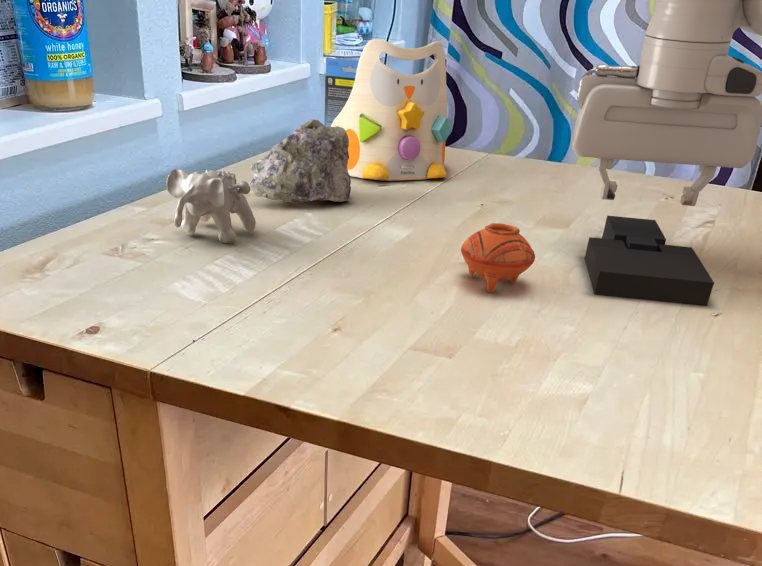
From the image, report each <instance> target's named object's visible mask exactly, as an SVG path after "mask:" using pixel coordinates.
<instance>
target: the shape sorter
mask: <svg viewBox="0 0 762 566" xmlns="http://www.w3.org/2000/svg"><path fill="white" fill-rule="evenodd" d="M382 54H387V55H388V56H390V57H393V58H395V59H399V60H403V61H419V60H422V59H426V58H428V57H431V56H432V55H433V56H434V61H433V64H432V65H430V66H429V67H428V68H427V69H425V70H424V71H422V72H419V73H415V74H405V73H401V72H398V71H396V70H394V69H392V68H391V67H389V66H387V65H386V64H385V63H383V62H382V61H381V59H380V57H381V55H382ZM358 61H359V63H358V67H357V69H356V71H355V73H356V77H355V82H354V85H353V89H352V91H351V94H350V96H349V99H348V101H347V103H346V104H345V106H344V108H343V109H342V111H341V112H340V113H339V115H338V116H337V117H336V118H335V120H334V121H333V123H332V125H331V127H336V126H339V127H342V128H344V129H345V131H346V133H347V135H348V138H349V146H348V152H349V159H348V166H347V169H348V174H349V175H350V177H353V178H358V179H365V180H372V181H374V180H375V181H387V182H388V181H389V182H390V181H392V182H393V181H418V180H419V181H420V180H429V179H439V178H440V179H441V178H446V177H447V171H446V168H445V161H446V160H445V159H446V142H447V139H448V138H449V136H450V135H451V133H452V126H451V124H450V121H449V119H448V117H447V116H448V94H447V91H448V90H447V66H446V63H447V62H446V53H445V48H444V45H443V43H442V41H440V40H436V41H433V42H430V43H429V44H426V45H423V46H420V47H415V48H414V47H403V46H399V45H396V44H393V43H391V42H389V41H387V40H384V39H379V38H374V39H371V40H368V41H367V43H366V44H365V46H364V48H363V50H362V52H361V54H360V56H359V60H358ZM362 114H363V115H364V116H365V117H361V115H362Z"/></svg>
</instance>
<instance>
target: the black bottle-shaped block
mask: <svg viewBox="0 0 762 566" xmlns="http://www.w3.org/2000/svg"><path fill="white" fill-rule="evenodd" d="M605 219H606V220H605V223H604V228H603V232H602V236H601V238H602V239H612V240H622V241H624V244H625V246H626V248H627V249H636V250H646V251H657V248H658V244H662V245H666V242H667V237H666V236H665V235H664V233H663V231H662V229H661V228H660V226H659V224H658V222H657V220H655V219H649V218H637V217H626V216H618V215H607V216H606V218H605Z"/></svg>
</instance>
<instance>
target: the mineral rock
mask: <svg viewBox="0 0 762 566" xmlns="http://www.w3.org/2000/svg"><path fill="white" fill-rule="evenodd" d="M348 146H349V138H348V135H347V133H346V131H345V129H344V128H342V127H339V126H336V127H326V126H324V123H322V122H321V121H320V120H319V119H313V118H312V119H308V120H307V121H305V122H304V123H303V124H300V125H299V126H298V127H297V128H296V129H295V130H294V131H293V132H292V134H290V135H288V136H287V137H285V138H283V139H282V140H280V141H279V142H277V143H276V144H274V145H273V146H272V147H271V149H270V150H269V151H268V152H267V153H266V154H265V155H264V157H263V158H260V159H258V160H257V161H255V162H254V163H252V164H251V165H250V172H251V173H252V177H251V178H252V179H251V182H250V183H249V186H250V191H251V192H252V194H253V195H254V196H256V197H258V198H266V199H269V200H274V201H281V202H286V203H295V204H304V203H307V202H312V201H331V202H333V203H335V202H337V203H343V202H348V201H349V200H350V198H351V192H352V187H351V184H352V181H351V176H350V175H349V174H348V169H347V166H348V159H349V152H348Z"/></svg>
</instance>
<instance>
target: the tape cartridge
mask: <svg viewBox="0 0 762 566" xmlns="http://www.w3.org/2000/svg"><path fill="white" fill-rule="evenodd" d="M358 63H359V60H355V59H344V58H333V57H325V76H324V82H325V83H324V120H323V121H324V123H323V125H324V126H326V127H331V125H332V123H333V121H334V120H335V118H336V117H337V116H338V115H339V113H340V112H341V111H342V109H343V108H344V106H345V104H346V103H347V101H348V99H349V96H350V94H351V91H352V89H353V85H354V82H355V77H356V72H355V71H354V72H352V71H343V69H344V68H345V69H348V68H349V67H351V68H352V69H356V70H357V67H358ZM361 117H365V116H364V115H363V114H362V115H361Z"/></svg>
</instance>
